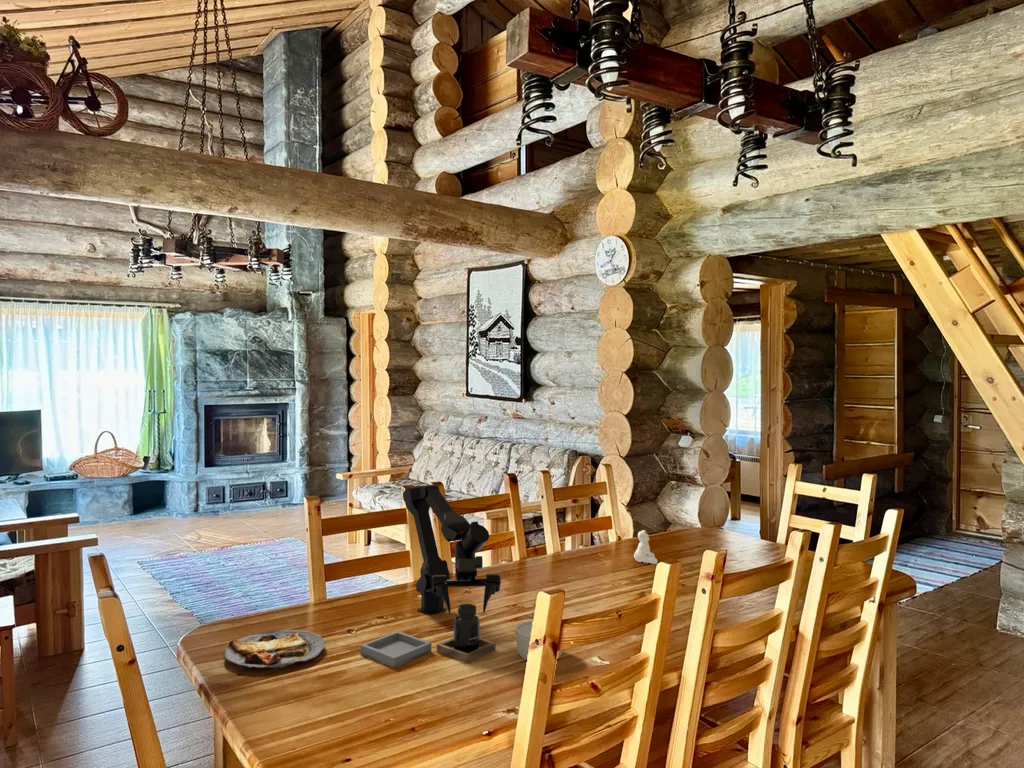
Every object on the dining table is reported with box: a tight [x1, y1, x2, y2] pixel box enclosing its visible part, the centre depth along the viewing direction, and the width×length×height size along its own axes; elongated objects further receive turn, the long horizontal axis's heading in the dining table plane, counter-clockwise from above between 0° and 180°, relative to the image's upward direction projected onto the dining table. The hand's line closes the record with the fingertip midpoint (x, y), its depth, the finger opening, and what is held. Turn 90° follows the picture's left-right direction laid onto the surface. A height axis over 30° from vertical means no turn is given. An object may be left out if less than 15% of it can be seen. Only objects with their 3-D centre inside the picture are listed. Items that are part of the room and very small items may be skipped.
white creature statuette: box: [633, 529, 658, 565], centre depth 283 cm, size 10×9×12 cm
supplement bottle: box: [453, 603, 481, 653], centre depth 194 cm, size 7×7×12 cm
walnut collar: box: [436, 637, 497, 664], centre depth 194 cm, size 11×11×2 cm
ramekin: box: [514, 620, 563, 661], centre depth 193 cm, size 13×13×7 cm
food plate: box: [223, 629, 326, 669], centre depth 191 cm, size 25×23×4 cm
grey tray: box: [359, 630, 433, 669], centre depth 192 cm, size 13×13×2 cm
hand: (466, 612), depth 196 cm, fingers open, 9 cm apart
